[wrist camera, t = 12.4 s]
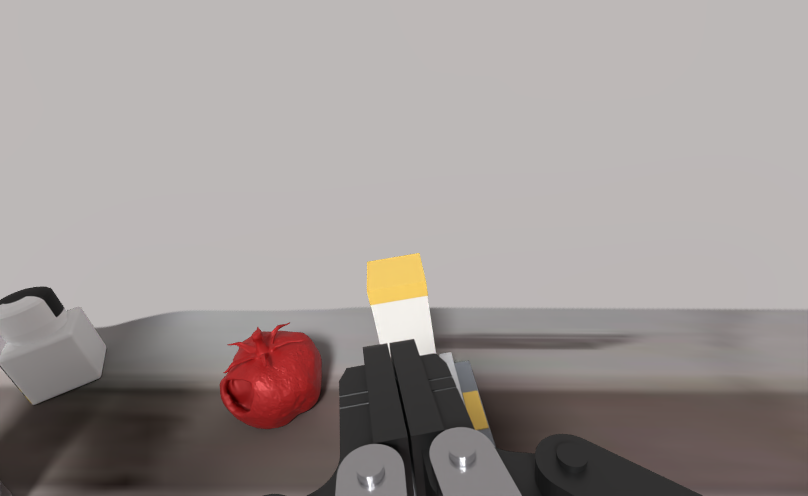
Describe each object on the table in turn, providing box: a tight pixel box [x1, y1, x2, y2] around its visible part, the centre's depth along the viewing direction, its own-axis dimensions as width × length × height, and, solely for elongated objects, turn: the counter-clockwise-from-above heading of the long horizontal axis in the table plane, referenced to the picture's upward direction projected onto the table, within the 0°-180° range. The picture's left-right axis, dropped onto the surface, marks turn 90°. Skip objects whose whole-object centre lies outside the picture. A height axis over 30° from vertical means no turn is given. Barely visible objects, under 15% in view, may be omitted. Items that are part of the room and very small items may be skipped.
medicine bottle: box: [0, 287, 106, 405], centre depth 48 cm, size 7×7×12 cm
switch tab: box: [367, 253, 436, 357], centre depth 33 cm, size 4×5×15 cm
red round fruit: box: [220, 322, 322, 429], centre depth 40 cm, size 10×10×9 cm
